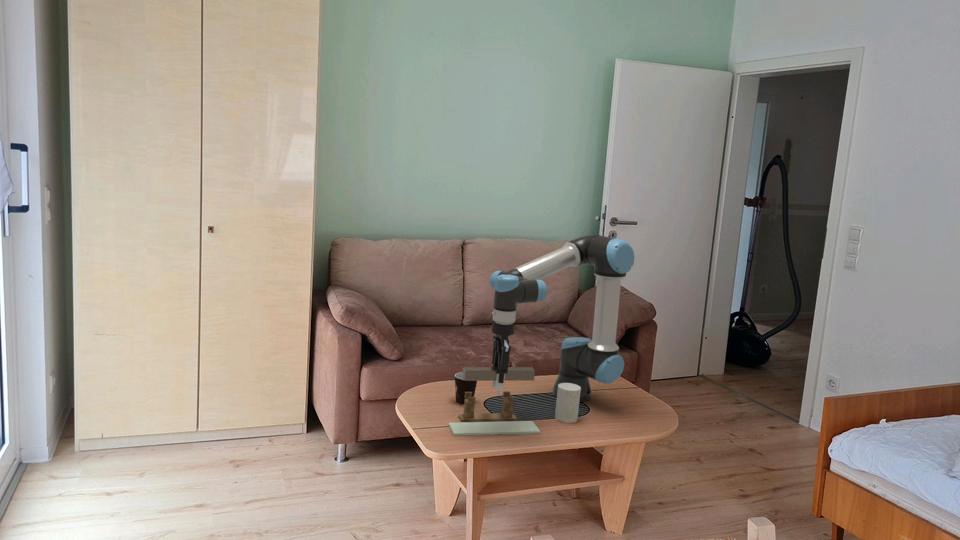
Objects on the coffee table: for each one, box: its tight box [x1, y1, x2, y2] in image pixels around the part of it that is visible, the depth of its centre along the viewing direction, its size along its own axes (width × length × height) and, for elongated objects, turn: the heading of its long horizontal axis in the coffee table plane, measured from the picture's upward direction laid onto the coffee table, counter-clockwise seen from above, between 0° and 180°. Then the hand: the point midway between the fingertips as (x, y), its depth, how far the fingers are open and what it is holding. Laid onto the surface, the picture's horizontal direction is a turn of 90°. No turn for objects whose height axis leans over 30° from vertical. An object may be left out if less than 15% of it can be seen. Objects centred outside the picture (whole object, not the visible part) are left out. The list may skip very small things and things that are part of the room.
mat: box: [447, 420, 542, 437], centre depth 247 cm, size 30×9×1 cm, turn 104°
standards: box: [458, 390, 518, 422], centre depth 255 cm, size 20×6×9 cm, turn 104°
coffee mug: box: [454, 371, 478, 406], centre depth 271 cm, size 12×9×10 cm
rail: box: [462, 366, 536, 382], centre depth 244 cm, size 24×4×4 cm, turn 104°
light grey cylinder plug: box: [554, 383, 581, 424], centre depth 261 cm, size 8×8×12 cm
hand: (497, 389), depth 245 cm, fingers closed on rail, 3 cm apart
